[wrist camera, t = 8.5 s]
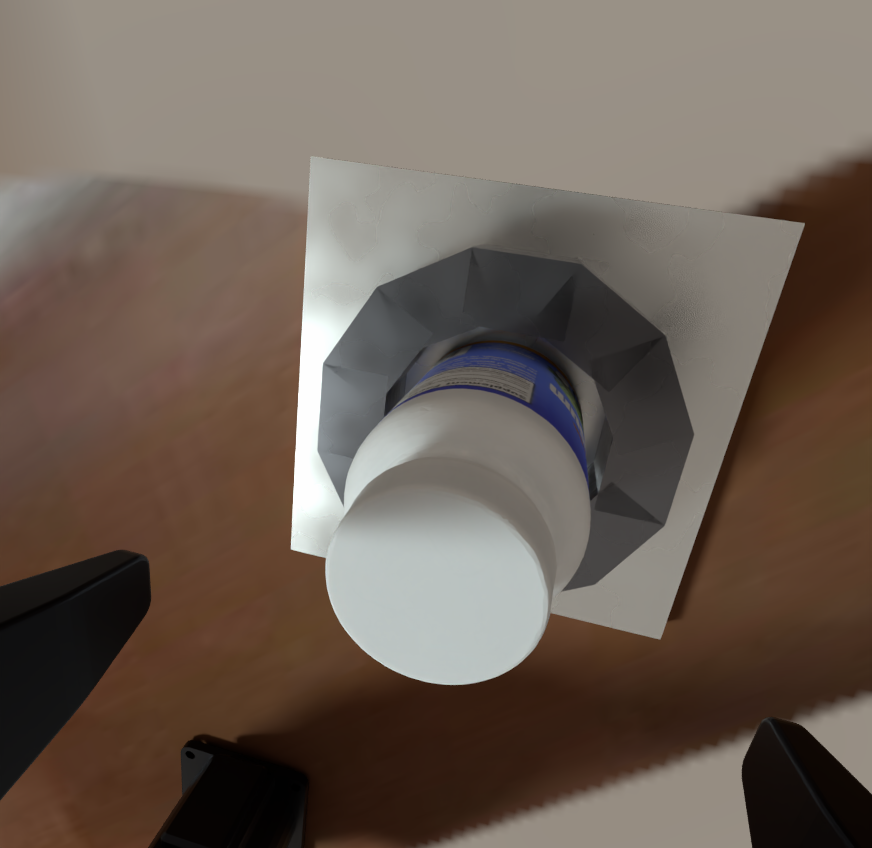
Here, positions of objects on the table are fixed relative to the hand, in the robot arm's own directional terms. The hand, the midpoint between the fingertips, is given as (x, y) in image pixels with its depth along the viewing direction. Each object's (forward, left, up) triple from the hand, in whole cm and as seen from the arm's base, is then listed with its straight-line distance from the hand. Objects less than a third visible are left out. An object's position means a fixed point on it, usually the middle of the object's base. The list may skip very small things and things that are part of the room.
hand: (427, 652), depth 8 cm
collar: (0, 0, -12) cm, 12 cm away
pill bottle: (0, 0, -11) cm, 11 cm away
